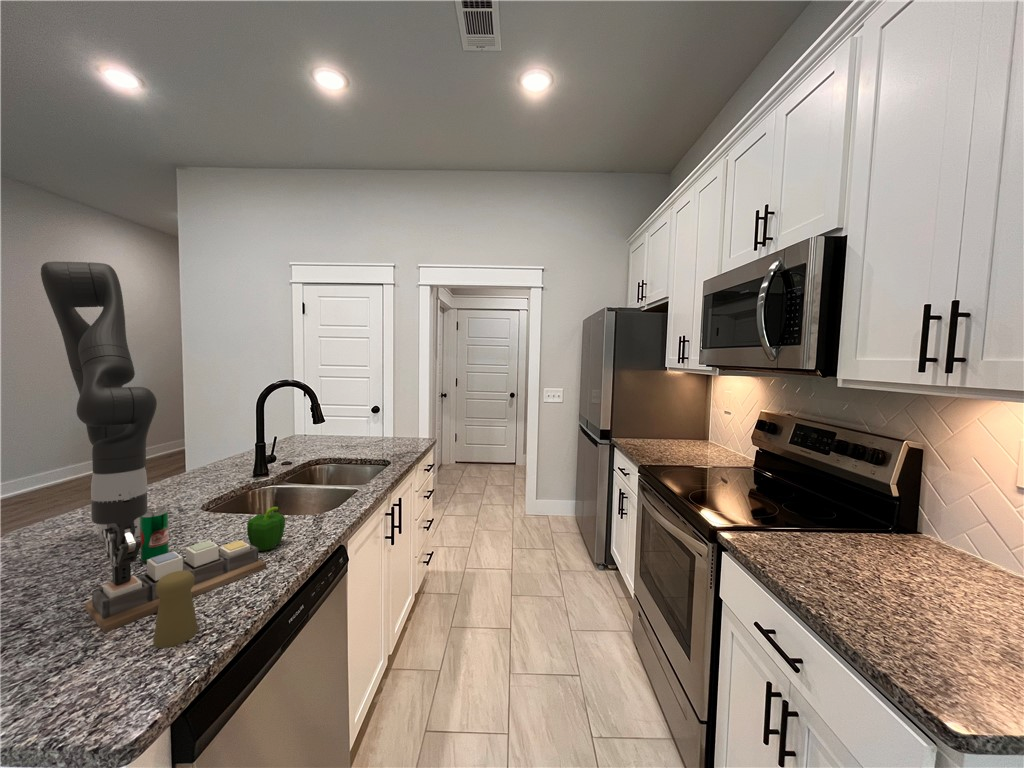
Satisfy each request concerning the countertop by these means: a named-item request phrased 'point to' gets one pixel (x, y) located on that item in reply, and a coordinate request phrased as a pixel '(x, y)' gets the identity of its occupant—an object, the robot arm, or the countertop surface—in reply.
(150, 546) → the soda can
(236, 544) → the key
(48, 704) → the countertop surface
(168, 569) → the key
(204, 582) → the keypad
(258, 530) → the bell pepper
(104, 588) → the key
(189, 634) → the cork
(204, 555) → the key
